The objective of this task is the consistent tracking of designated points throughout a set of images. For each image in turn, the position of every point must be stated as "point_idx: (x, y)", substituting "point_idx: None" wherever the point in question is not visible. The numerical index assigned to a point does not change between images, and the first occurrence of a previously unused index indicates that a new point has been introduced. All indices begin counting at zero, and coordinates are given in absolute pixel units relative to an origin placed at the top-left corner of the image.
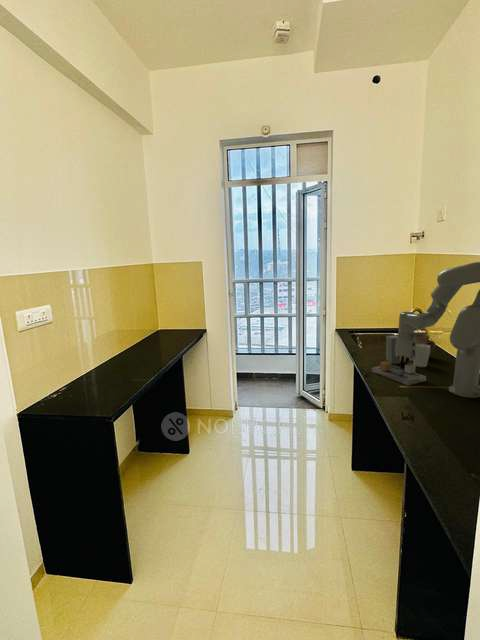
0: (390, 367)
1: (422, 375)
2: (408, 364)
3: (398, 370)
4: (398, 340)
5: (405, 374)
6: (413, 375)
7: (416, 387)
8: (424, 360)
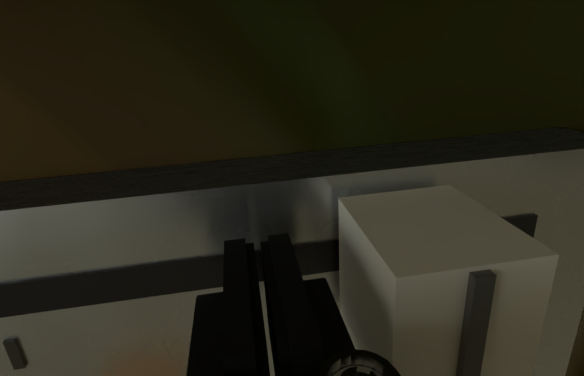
0: (26, 350)
1: (572, 165)
2: (416, 362)
3: None
4: None
5: None
6: None
7: (576, 358)
8: None
